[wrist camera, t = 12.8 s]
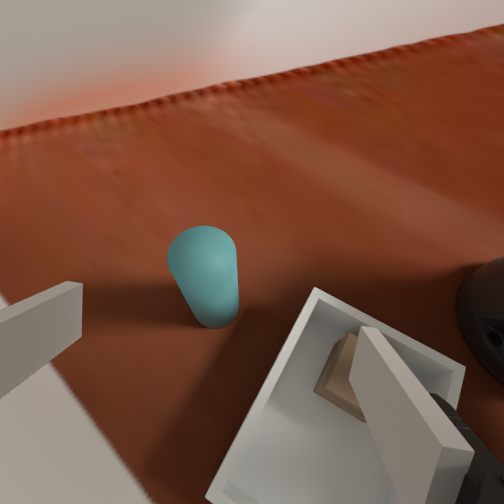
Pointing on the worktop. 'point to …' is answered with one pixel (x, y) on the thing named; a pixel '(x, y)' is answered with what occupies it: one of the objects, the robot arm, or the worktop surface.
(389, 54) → the worktop surface
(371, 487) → the grey tote
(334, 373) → the walnut cube
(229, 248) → the teal cylinder
